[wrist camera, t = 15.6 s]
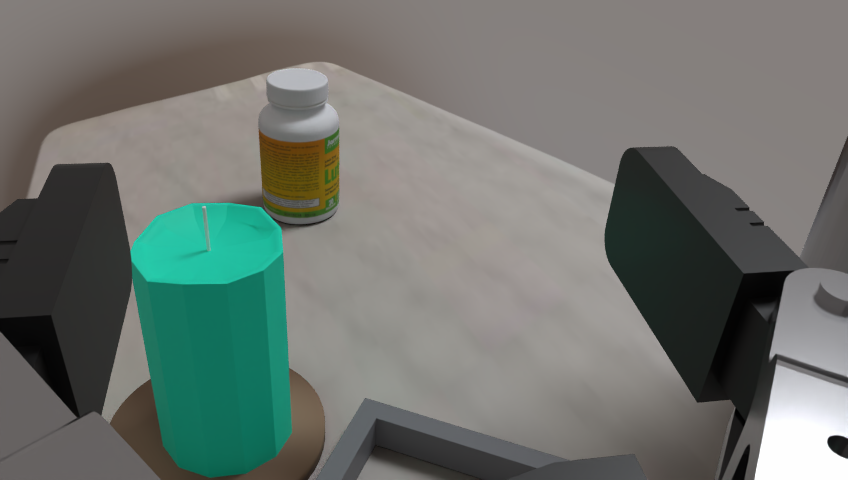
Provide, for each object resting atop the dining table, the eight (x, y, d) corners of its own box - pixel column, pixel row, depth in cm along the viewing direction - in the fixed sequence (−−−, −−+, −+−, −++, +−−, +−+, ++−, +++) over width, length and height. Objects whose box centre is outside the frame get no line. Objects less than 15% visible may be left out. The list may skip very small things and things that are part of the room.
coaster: (190, 346, 41) (188, 335, 41) (358, 398, 39) (358, 387, 38) (57, 484, 33) (53, 472, 33) (258, 561, 31) (257, 548, 30)
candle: (230, 365, 39) (208, 157, 33) (319, 417, 37) (314, 201, 30) (133, 436, 35) (86, 212, 28) (227, 500, 32) (198, 270, 26)
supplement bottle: (338, 227, 53) (337, 95, 47) (259, 226, 52) (250, 92, 47) (340, 189, 57) (340, 65, 52) (267, 188, 57) (260, 62, 51)
